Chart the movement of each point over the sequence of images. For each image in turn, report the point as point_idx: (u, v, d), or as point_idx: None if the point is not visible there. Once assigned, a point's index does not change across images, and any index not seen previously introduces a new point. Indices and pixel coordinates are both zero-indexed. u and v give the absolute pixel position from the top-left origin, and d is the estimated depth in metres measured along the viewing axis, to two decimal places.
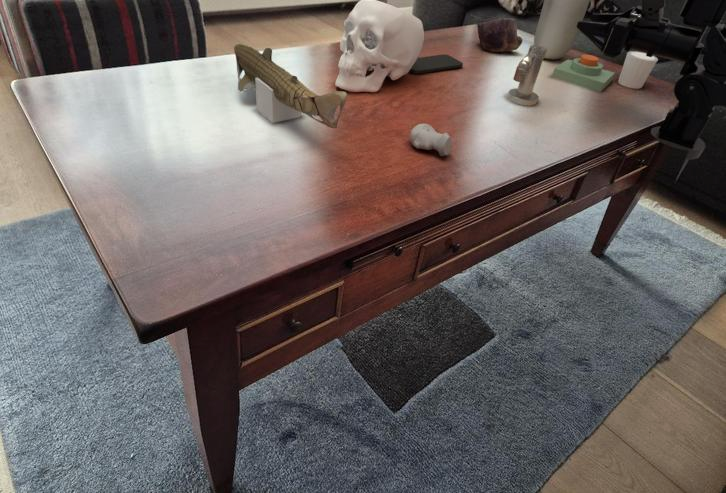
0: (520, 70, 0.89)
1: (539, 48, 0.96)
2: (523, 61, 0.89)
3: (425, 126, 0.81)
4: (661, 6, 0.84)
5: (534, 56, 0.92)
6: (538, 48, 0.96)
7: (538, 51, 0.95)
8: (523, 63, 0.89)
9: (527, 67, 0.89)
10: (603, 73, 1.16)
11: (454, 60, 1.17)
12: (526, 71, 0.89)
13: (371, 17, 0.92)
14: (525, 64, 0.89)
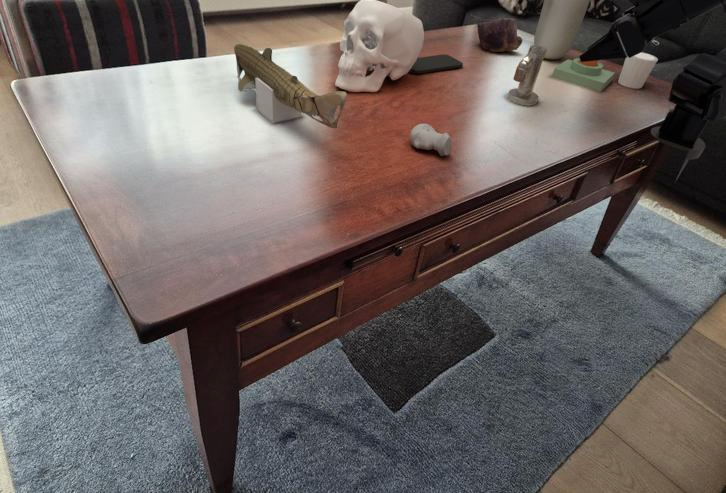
0: (520, 70, 0.89)
1: (539, 48, 0.96)
2: (523, 61, 0.89)
3: (425, 126, 0.81)
4: None
5: (534, 56, 0.92)
6: (538, 48, 0.96)
7: (538, 51, 0.95)
8: (523, 63, 0.89)
9: (527, 67, 0.89)
10: (603, 73, 1.16)
11: (454, 60, 1.17)
12: (526, 71, 0.89)
13: (371, 17, 0.92)
14: (525, 64, 0.89)
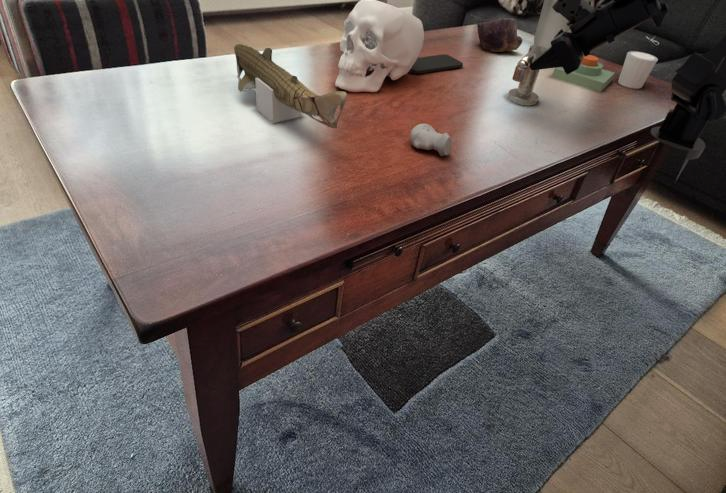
0: (519, 70, 0.89)
1: (539, 48, 0.96)
2: (522, 61, 0.89)
3: (425, 126, 0.81)
4: (578, 2, 0.79)
5: (533, 56, 0.92)
6: (538, 48, 0.96)
7: (538, 51, 0.95)
8: (522, 63, 0.89)
9: (526, 67, 0.89)
10: (603, 73, 1.16)
11: (454, 60, 1.17)
12: (525, 71, 0.89)
13: (371, 17, 0.92)
14: (524, 64, 0.89)
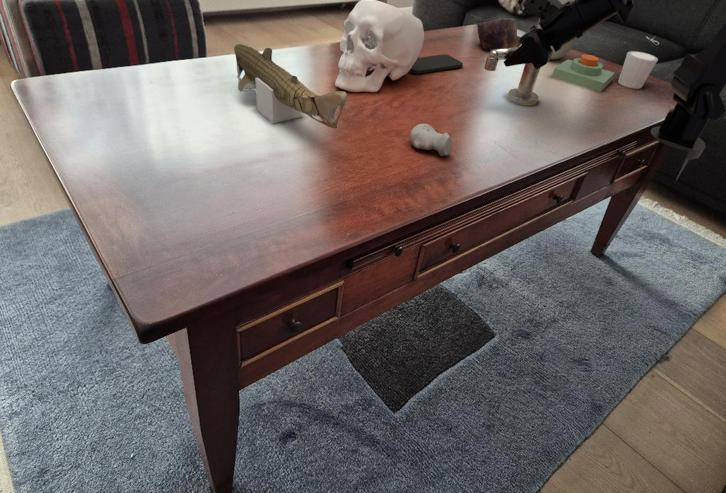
0: (488, 58, 0.93)
1: None
2: (493, 50, 0.92)
3: (425, 126, 0.81)
4: None
5: None
6: None
7: None
8: (492, 52, 0.92)
9: (495, 56, 0.92)
10: (603, 73, 1.16)
11: (454, 60, 1.17)
12: (493, 60, 0.92)
13: (371, 17, 0.92)
14: (493, 53, 0.92)
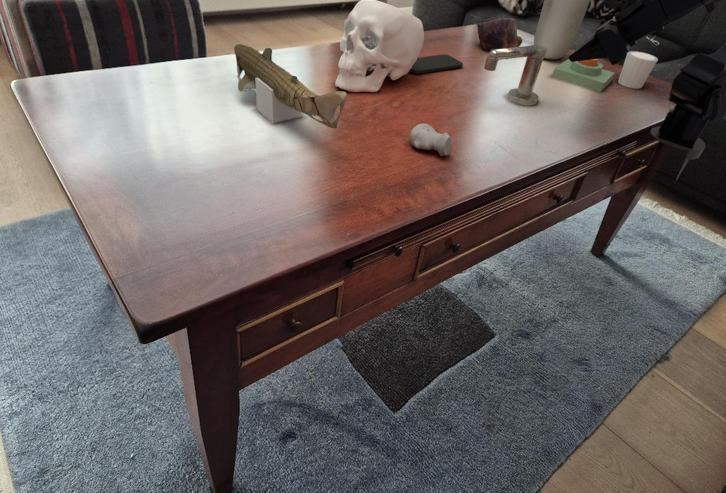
0: (487, 58, 0.93)
1: (534, 47, 0.96)
2: (493, 50, 0.92)
3: (425, 126, 0.81)
4: None
5: (515, 50, 0.94)
6: (532, 46, 0.96)
7: (529, 48, 0.96)
8: (491, 52, 0.92)
9: (495, 56, 0.92)
10: (603, 73, 1.16)
11: (454, 60, 1.17)
12: (493, 60, 0.93)
13: (371, 17, 0.92)
14: (493, 53, 0.92)
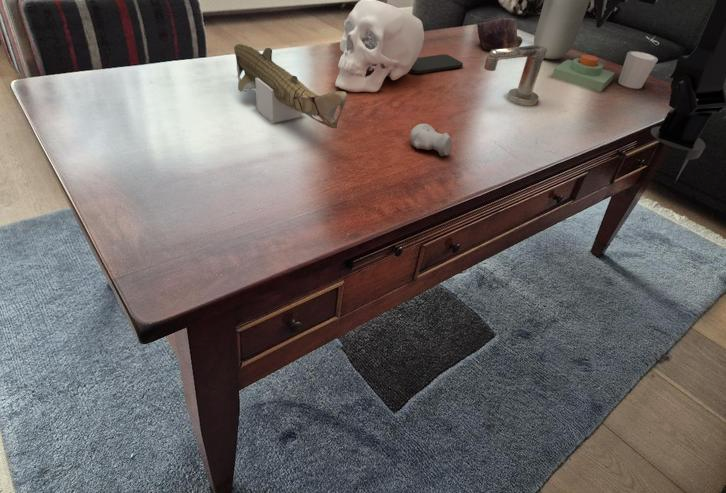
0: (487, 58, 0.93)
1: (534, 47, 0.96)
2: (493, 50, 0.92)
3: (425, 126, 0.81)
4: None
5: (515, 50, 0.94)
6: (532, 46, 0.96)
7: (529, 48, 0.96)
8: (491, 52, 0.92)
9: (495, 56, 0.92)
10: (603, 73, 1.16)
11: (454, 60, 1.17)
12: (493, 60, 0.93)
13: (371, 17, 0.92)
14: (493, 53, 0.92)
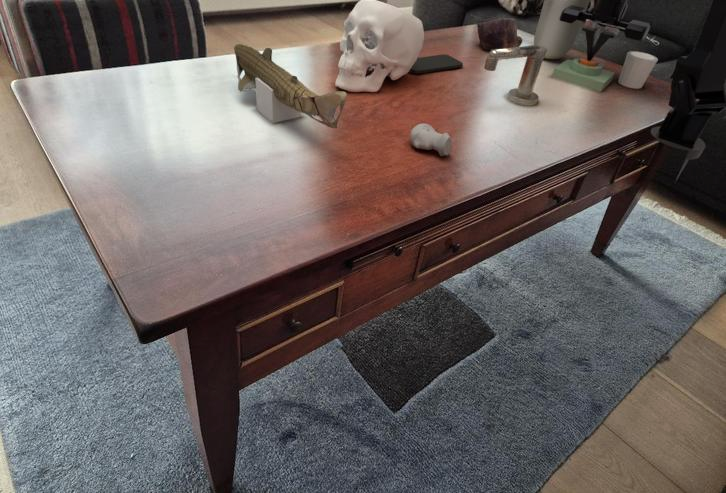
0: (487, 58, 0.93)
1: (534, 47, 0.96)
2: (493, 50, 0.92)
3: (425, 126, 0.81)
4: None
5: (515, 50, 0.94)
6: (532, 46, 0.96)
7: (529, 48, 0.96)
8: (491, 52, 0.92)
9: (495, 56, 0.92)
10: (603, 73, 1.16)
11: (454, 60, 1.17)
12: (493, 60, 0.93)
13: (371, 17, 0.92)
14: (493, 53, 0.92)
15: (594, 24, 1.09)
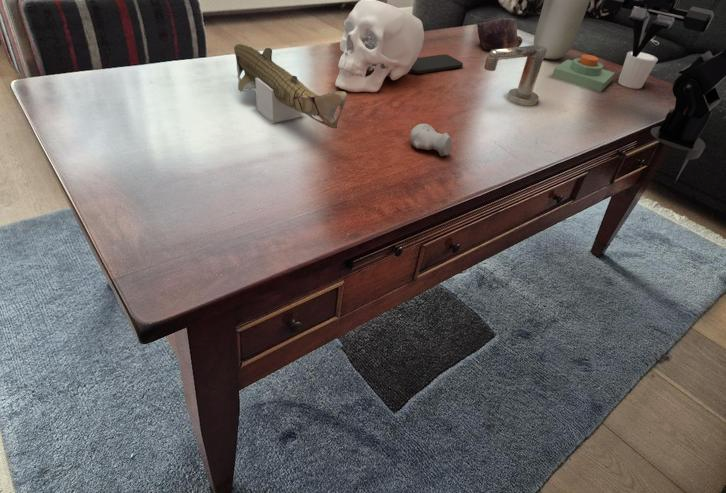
0: (487, 58, 0.93)
1: (534, 47, 0.96)
2: (493, 50, 0.92)
3: (425, 126, 0.81)
4: None
5: (515, 50, 0.94)
6: (532, 46, 0.96)
7: (529, 48, 0.96)
8: (491, 52, 0.92)
9: (495, 56, 0.92)
10: (603, 73, 1.16)
11: (454, 60, 1.17)
12: (493, 60, 0.93)
13: (371, 17, 0.92)
14: (493, 53, 0.92)
15: (644, 12, 0.90)
